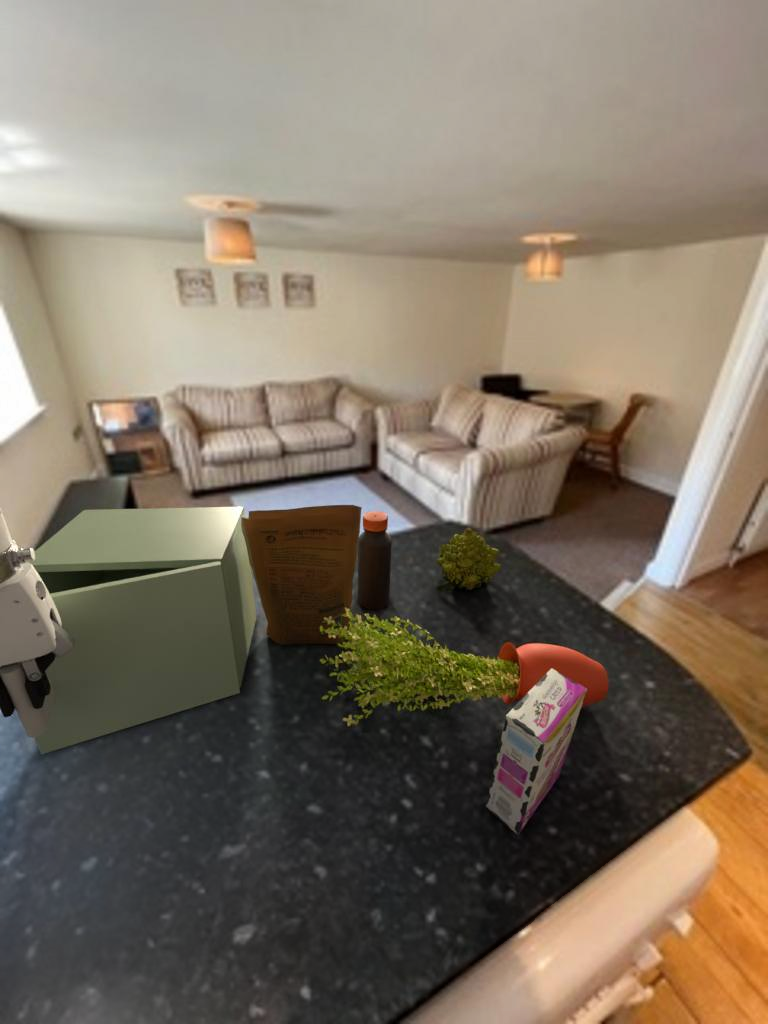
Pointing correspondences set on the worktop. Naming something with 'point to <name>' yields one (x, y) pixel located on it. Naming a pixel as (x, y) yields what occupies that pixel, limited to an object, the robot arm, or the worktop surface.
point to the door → (132, 656)
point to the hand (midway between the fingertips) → (26, 702)
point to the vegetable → (467, 561)
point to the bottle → (374, 561)
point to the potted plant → (449, 668)
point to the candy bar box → (534, 748)
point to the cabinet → (155, 555)
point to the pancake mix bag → (303, 568)
